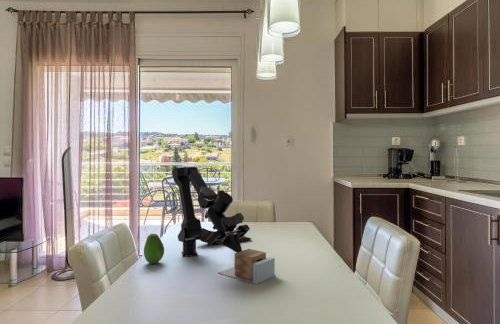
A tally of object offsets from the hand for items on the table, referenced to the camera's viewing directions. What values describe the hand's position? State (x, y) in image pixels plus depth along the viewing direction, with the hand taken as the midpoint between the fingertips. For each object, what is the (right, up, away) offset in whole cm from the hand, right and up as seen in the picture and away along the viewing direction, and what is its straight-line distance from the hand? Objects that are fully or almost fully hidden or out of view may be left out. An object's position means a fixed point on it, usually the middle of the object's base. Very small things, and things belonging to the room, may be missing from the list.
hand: (241, 253), depth 130 cm
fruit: (-35, -7, +12) cm, 38 cm away
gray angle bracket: (+2, -7, -1) cm, 8 cm away
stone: (-10, -7, +45) cm, 47 cm away
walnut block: (+3, -7, -3) cm, 8 cm away
